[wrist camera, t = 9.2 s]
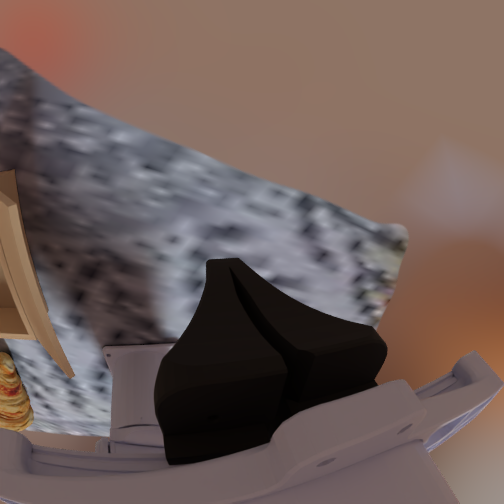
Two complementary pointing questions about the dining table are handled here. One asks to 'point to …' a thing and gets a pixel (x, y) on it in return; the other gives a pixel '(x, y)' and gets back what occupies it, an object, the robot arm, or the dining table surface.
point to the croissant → (13, 398)
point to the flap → (28, 282)
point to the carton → (3, 289)
